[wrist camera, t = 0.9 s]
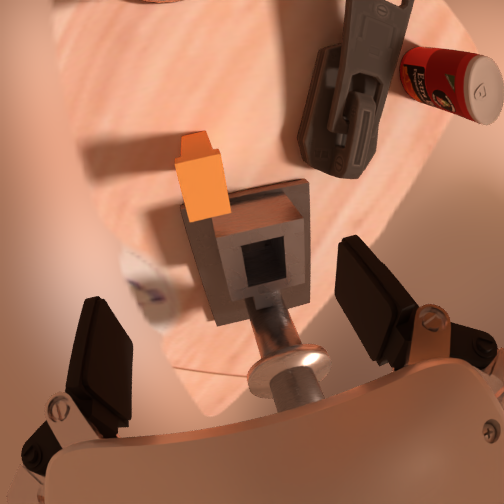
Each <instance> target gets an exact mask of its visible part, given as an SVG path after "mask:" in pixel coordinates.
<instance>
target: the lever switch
mask: <svg viewBox="0 0 504 504" xmlns="http://www.w3.org/2000/svg"><path fill="white" fill-rule="evenodd" d="M228 197H229V202H230V208H231V213H228V214H224V215H220V216H215V217H211V218H207V219H203V220H198V221H194V222H190V221H189V218H188V214H187V210H186V207H185V204H182V205H180V210H181V214H182V217H183V221H184V224H185V228H186V231H187V234H188V238H189V241H190V244H191V248H192V251H193V254H194V258H195V261H196V264H197V267H198V270H199V274H200V277H201V280H202V283H203V286H204V289H205V292H206V295H207V298H208V301H209V304H210V307H211V310H212V313H213V316H214V319H215V322H216V325H217V326H221V325H226V324H230V323H234V322H238V321H242V320H247V319H250V321H251V325H252V328H253V332H254V335H255V339H256V342H257V345H258V349H259V352H260V355H261V359H260V360H259V361H257V362H256V363H255V364H254V365H253V366H252V367H251V368H250V370H249V371H248V374H247V382H248V385H249V389H250V392H251V393H252V394H253V395H255V396H258V397H261V398H268V399H271V398H272V399H273V398H274V402H275V405H276V408H277V411H278V413H279V412H283V411H286V410H290V409H293V408H297V407H300V406H303V405H306V404H310V403H313V402H316V401H319V400H322V399H325V398H324V395H323V393H322V391H321V388H320V386H319V383H318V382H320V381H321V380H322V379H323V378H324V377H325V376H326V375H327V374H328V372H329V371H330V369H331V366H332V362H331V359H330V357H329V355H328V353H327V351H326V350H325V349H324V348H323V347H322V346H319V345H315V344H302V343H301V340H300V338H299V335H298V333H297V331H296V328H295V326H294V323H293V321H292V319H291V316H290V314H289V312H288V309H289V308H293V307H296V306H300V305H303V304H307V303H310V195H309V182H308V181H307V180H306V179H300V180H295V181H289V182H284V183H278V184H273V185H268V186H263V187H258V188H253V189H248V190H243V191H239V192H234V193H230V194H228Z"/></svg>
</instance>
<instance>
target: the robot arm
mask: <svg viewBox="0 0 504 504" xmlns="http://www.w3.org/2000/svg"><path fill="white" fill-rule="evenodd" d="M142 1H146V2H156V3H164V2H176V1H182V0H142ZM335 296H336V299H337V301H338V303H339V304H340V306H341V307H342V309H343V311H344V313H345V314H346V316H347V318H348V320H349V321H350V323H351V325H352V326H353V328H354V330H355V331H356V333H357V335H358V337H359V339H360V340H361V342H362V344H363V346H364V347H365V349H366V351H367V352H368V354H369V356H370V358H371V359H372V360H373V361H377V363H378V365H379V366H381V365H384V364H386V363H388V362H389V364H390V366H391V367H392V372H391V373H390V374H387V375H385V376H383V377H380V378H378V379H375V380H373V381H370V382H368V383H365V384H363V385H360V386H358V387H355V388H352V389H350V390H347V391H345V392H342V393H339V394H336V395H334V396H331V397H328V398H325V399H322V400H319V401H316V402H313V403H310V404H306V405H303V406H300V407H297V408H293V409H290V410H286V411H283V412H279V413H275V414H272V415H268V416H264V417H260V418H256V419H251V420H247V421H242V422H238V423H233V424H228V425H223V426H218V427H212V428H206V429H201V430H194V431H187V432H179V433H171V434H163V435H152V436H140V437H127V438H121V437H120V436H119V434H118V428H119V427H129V421H128V420H131V417H132V400H131V399H132V362H133V343H132V341H131V339H130V338H129V336H128V335H127V333H126V332H125V330H124V329H123V327H122V326H121V324H120V323H119V321H118V320H117V318H116V317H115V315H114V313H113V312H112V310H111V309H110V307H109V306H108V304H107V302H106V301H105V300H104V299H101V298H100V297H99V296H96V297H92V298H87V299H85V301H84V304H83V308H82V311H81V315H80V319H79V323H78V327H77V331H76V336H75V340H74V344H73V349H72V354H71V359H70V364H69V370H68V375H67V381H66V389H65V392H58V393H55V394H53V395H52V396H51V397H50V398H49V399H48V401H47V403H46V405H45V417H46V421H45V422H44V423H43V424H42V425H41V426H40V428H38V429H37V431H36V432H35V433H34V434H33V435H32V436H31V437H30V438H29V439H28V440H27V441H26V442H25V444H24V446H23V448H22V453H21V457H22V461H23V465H21V464H20V465H19V467H18V469H17V472H16V474H15V476H14V479H13V481H12V483H11V486H10V488H9V491H8V494H7V502H8V504H504V348H502V347H501V348H500V349H498V348H497V344H496V342H495V340H494V338H493V337H492V336H491V335H490V334H488V333H486V332H484V331H480V330H477V329H473V328H470V327H466V326H462V325H459V324H455V323H452V322H451V321H450V317H449V315H448V313H447V312H446V311H445V310H444V309H443V308H441V307H440V306H438V305H435V304H425V305H423V306H421V307H419V306H418V305H417V303H416V302H415V301H414V300H413V298H412V297H411V296H410V294H409V293H408V292H407V291H406V290H405V288H404V287H403V286H402V285H401V283H400V282H399V281H398V280H397V278H396V277H395V276H394V275H393V274H392V273H391V271H390V270H389V269H388V268H387V267H386V266H385V264H383V263H382V262H381V261H380V260H379V259H378V258H377V257H376V256H375V254H374V253H373V252H372V251H371V250H370V249H369V248H368V246H367V245H366V244H365V243H364V242H363V241H362V240H361V239H360V237H359V236H357V235H353V236H349V237H345V238H343V239H342V242H340V243H339V244H338V256H337V269H336V281H335Z"/></svg>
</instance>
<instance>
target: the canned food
mask: <svg viewBox="0 0 504 504" xmlns="http://www.w3.org/2000/svg"><path fill="white" fill-rule="evenodd" d="M400 78H401V82H402V85H403V87H404V89H405V90H406V92H407V93H408V94H409V95H410V96H411V97H412V98H414V99H415V100H416V101H418V102H421V103H424V104H427V105H430V106H433V107H436V108H439V109H442V110H445V111H448V112H450V113H453V114H456V115H458V116H461V117H464V118H466V119H469V120H471V121H474V122H477V123H479V124H483V125H490V124H492V123H493V122H494V121H496V119H497V118H498V116H499V115H500V112H501V110H502V106H503V102H504V83H503V78H502V75H501V72H500V70H499V68H498V66H497V64H496V63H495V62H494V61H493V60H492V59H491V58H489V57H487V56H484V55H480V54H475V53H470V52H464V51H457V50H449V49H441V48H431V47H416V48H413V49H411V50H409V51H408V52H407V53H406V54H405V55H404V57H403V58H402V61H401V65H400Z"/></svg>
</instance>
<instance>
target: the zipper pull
mask: <svg viewBox="0 0 504 504" xmlns="http://www.w3.org/2000/svg"><path fill="white" fill-rule="evenodd" d="M413 3H414V0H402V3H401V5H400V6H399V7H398V6H396V5H394V4H392V3H390V2H388V1H385V0H346V5H345V17H344V28H343V38H342V44H337V45H333V46H330V47H326V48H323V49H320V50H319V52H318V55H317V59H316V64H315V68H314V72H313V76H312V80H311V85H310V89H309V93H308V97H307V101H306V106H305V110H304V114H303V117H302V121H301V125H300V129H299V132H298V136H297V139H298V143H299V147H300V151H301V155H302V159H303V161H305V162H306V163H307V164H308V165H310V166H311V167H313V168H315V169H318V170H320V171H322V172H324V173H327V174H329V175H331V176H335V177H338V178H345V179H358V178H359V177H360V175H361V174H362V173H363V171H364V170H365V169H366V167H367V165H368V164H369V162H370V161H371V159H372V157H373V156H374V154H375V152H376V146H377V137H378V126H379V122H380V118H381V115H382V111H383V108H384V104H385V101H386V97H387V94H388V90H389V86H390V83H391V79H392V76H393V73H394V70H395V67H396V64H397V60H398V57H399V54H400V50H401V47H402V44H403V40H404V36H405V33H406V29H407V26H408V22H409V18H410V14H411V11H412V7H413Z"/></svg>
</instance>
